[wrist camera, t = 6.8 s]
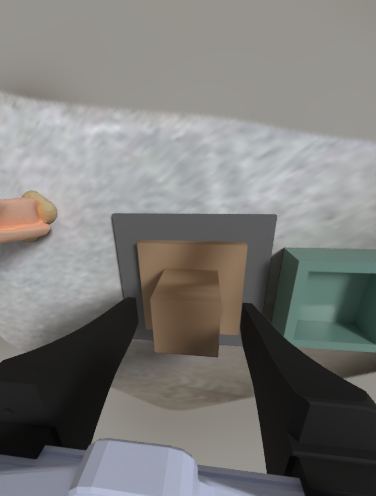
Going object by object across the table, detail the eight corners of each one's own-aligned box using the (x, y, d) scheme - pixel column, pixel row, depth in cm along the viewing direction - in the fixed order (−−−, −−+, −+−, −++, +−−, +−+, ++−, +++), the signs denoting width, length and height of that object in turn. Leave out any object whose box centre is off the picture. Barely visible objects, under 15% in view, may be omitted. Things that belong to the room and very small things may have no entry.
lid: (245, 242, 14) (263, 271, 10) (236, 328, 17) (247, 382, 12) (140, 239, 15) (111, 266, 10) (148, 322, 17) (128, 372, 13)
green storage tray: (385, 249, 14) (422, 264, 11) (357, 327, 16) (383, 352, 14) (284, 247, 14) (299, 260, 12) (271, 322, 17) (281, 345, 14)
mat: (275, 214, 14) (277, 215, 13) (256, 343, 18) (257, 347, 17) (114, 213, 15) (111, 214, 14) (131, 335, 19) (129, 338, 18)
